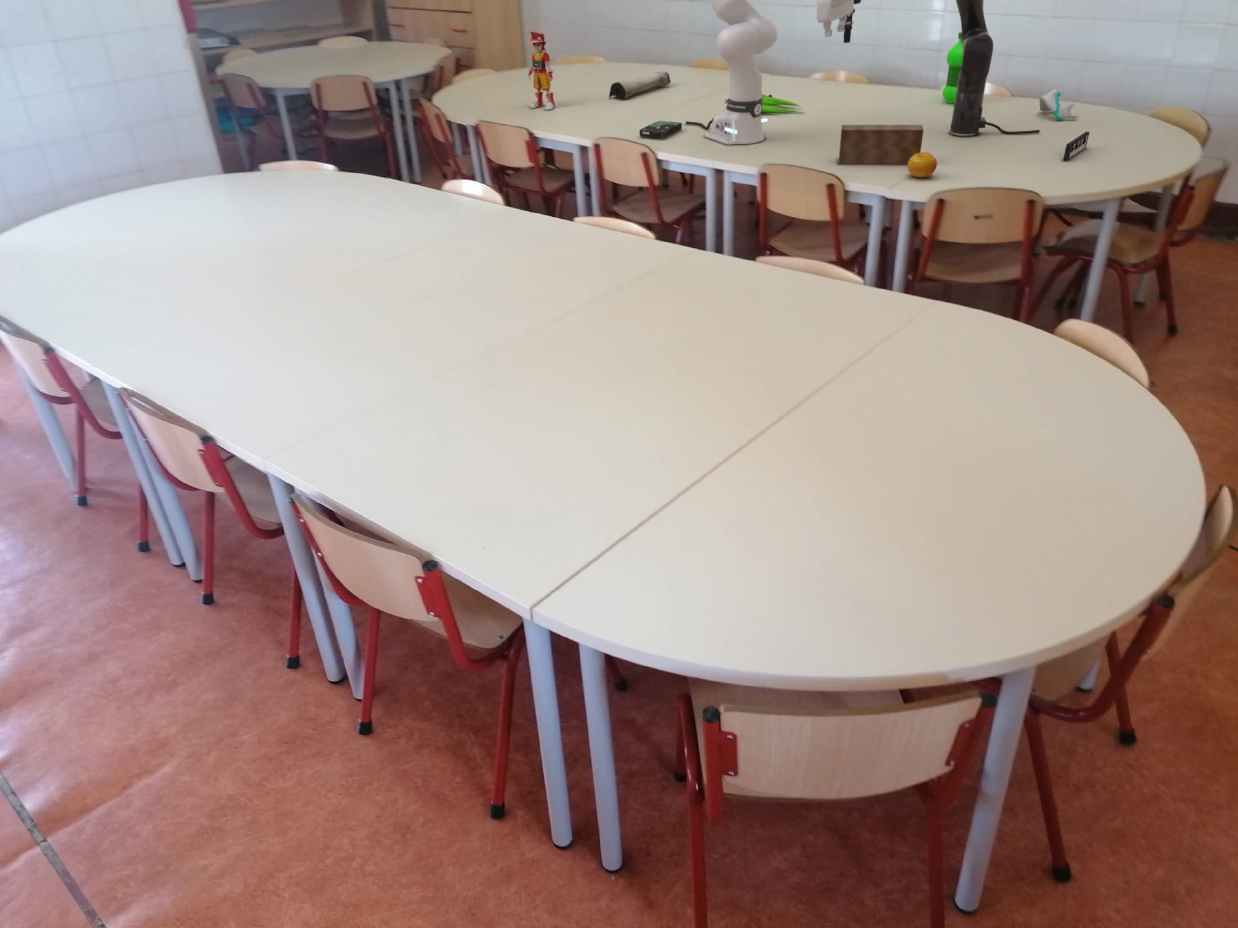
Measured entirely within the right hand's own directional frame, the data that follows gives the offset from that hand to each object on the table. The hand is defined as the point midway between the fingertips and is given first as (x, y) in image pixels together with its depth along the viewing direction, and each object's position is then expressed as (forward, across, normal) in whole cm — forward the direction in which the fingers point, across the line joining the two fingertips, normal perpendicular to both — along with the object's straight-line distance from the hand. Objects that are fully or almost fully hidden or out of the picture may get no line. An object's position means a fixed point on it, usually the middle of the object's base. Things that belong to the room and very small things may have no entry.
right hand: (846, 40), depth 308 cm
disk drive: (+31, 0, +66) cm, 73 cm away
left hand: (-7, -28, +4) cm, 29 cm away
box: (+32, -34, -13) cm, 48 cm away
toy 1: (+30, +40, +124) cm, 134 cm away
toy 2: (+31, +35, +28) cm, 55 cm away
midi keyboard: (+32, -24, -75) cm, 85 cm away
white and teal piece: (+32, +24, -77) cm, 87 cm away
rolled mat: (+30, +67, +86) cm, 114 cm away
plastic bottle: (+32, +47, -44) cm, 72 cm away
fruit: (+32, -49, -25) cm, 63 cm away
